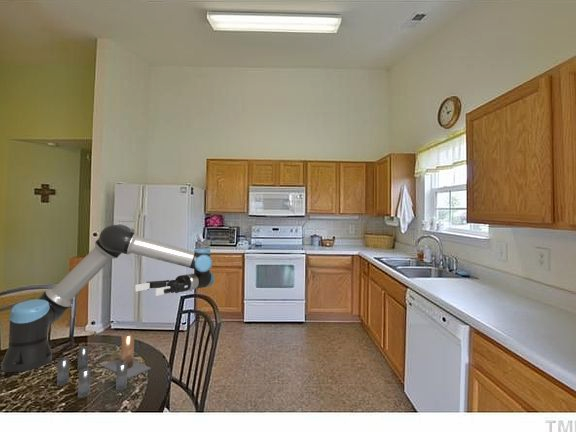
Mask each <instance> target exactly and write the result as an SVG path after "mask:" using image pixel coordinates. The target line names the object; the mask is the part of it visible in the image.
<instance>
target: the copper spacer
mask: <svg viewBox="0 0 576 432" xmlns="http://www.w3.org/2000/svg"><path fill="white" fill-rule="evenodd" d="M134 349H135V333H134V332H127V333H123V334H121V342H120V358H119V359H120V362H127V363H128V365H127V369H129V368H131V367H133V361H134V354H135V353H134V351H135V350H134Z"/></svg>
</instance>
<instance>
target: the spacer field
mask: <svg viewBox="0 0 576 432" xmlns="http://www.w3.org/2000/svg"><path fill="white" fill-rule="evenodd" d="M89 348H90V347H89V345H83V346H79V347H78V349H77V350H78V351H77V371H78V382H77V383H78V385H77V398H79V399H84V398H87V397H89V396H90V395H91V377H92V376H91V375H92V369H91V367H89V365H88V364H89ZM127 365H128V363H127V362H120V363H118V364H117V372H116V373H115V374H116V376H115V377H116V378H115V390H116V391H124V390H126V389H127V385H128V383H127V382H128V378H127ZM56 371H57V375H56V386H64V385H67V384H68V383H69V376H70V375H69V374H70V373H69V372H70V357H63V358H62V357H61V358H59V359H57V370H56Z"/></svg>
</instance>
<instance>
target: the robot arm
mask: <svg viewBox="0 0 576 432" xmlns="http://www.w3.org/2000/svg"><path fill="white" fill-rule="evenodd" d="M121 254H125V255H130V254H134V255H137V256H138V255H139V256H142V257H147V258H149V259H154V260H158V261H162V262H166V263H169V264H173V265H178V266H181V267H186V268H189V269H192V270H193V272H194V273H188V274H181V275H178V276H177V277H175V279H171V280H170V279H166V280H155V281H154V280H153V281H146V282H144V283H140V284H139V283H138V284H135V285H134V292H140V291H145V290H146V291H149V290H150V289H155V293H154V294H155V297H158V296H162V295H167V294H173V293H175V294H178V293H183V292H184V293H185V292H188V291H189V292H192V290H196V289H202V288H206V287H210V286H212V285H213V284H214V282H215V276H214V273H213V272H212V271H211V269H212V266H213V260H212V258H211V249H210V248H206V247H205V248H203V247H201V248H200V247H199V248H198V247H197V248H195V250H194V251H193V250H189V249H186V248H181V247H178V246H176V245H175V246H174V245H171V244H168V243H164V242H160V241H158V240H157V241H156V240H152V239H150V238H145V237H143V236H138V234H137V232H133V230H132V229H131V228H130V227H128V226H127V225H125V224H112V225H108V226H106V227H105V228H103V229H102V230H101V232H100V233H99V237H98V238H97V239H96V241H95V242H94V247H93V248H92V250H90V251H89V253H87V255H85V257H84V258H82V259H81V261H79V263H77V264H76V265H75V266H74V268H72V269H71V270H70V272H68V274H66V276H65V277H63V279H62V280H61V281H59V282H58V283H57V285H55V287H53V288H47V289H46V290H45V291H44V292H43V293H42V294H41V295H40V296H39V297H38V298H37V299H30V300H25V301H21V302H19V303H16V304H15V305H13V306H12V307H11V309H10V314H9V329H8V330H9V331H8V347H7V349H6V351H5V354H4V356H3V358H2V361H1V366H0V370H1V372H3V373H20V372H26V371H30V370H34V369H38V368H41V367H43V366H45V365H48V364H49V363H50V362H52V359H53V352H52V349H51V346H50V344H49V341H48V334H49V333H48V331H49V327H50V326H51V325H53V323H56V321H59V319H61V317H62V316H64V314H65V313H66V311H67V310H68V309H69V308H70V307H71V305H72V299H74V298H75V297H76V295H77V294H78V293H79V292H81V290H82V289H83V288H85V286H86V285H87V284H89V282H90V281H91V280H92V279H93V278H94V277H95V276H96V275H97V274H98V273H99V272H100V271H101V270H102V269H103V268H104V267H105V266H106V265H107V264H108V263H109V262H110V261H111V260H112V259H118V258H119V257H120V256H121Z"/></svg>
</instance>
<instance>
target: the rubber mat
mask: <svg viewBox="0 0 576 432" xmlns="http://www.w3.org/2000/svg"><path fill="white" fill-rule="evenodd" d="M118 363H120V358H119V359H116V360H113V361H111V362H107V363H105V364H102V365H101V368H104V369H106V370H108V371H110V372H112V373H114V374H116V372H117V364H118ZM151 369H152V368H151V367H150V366H147V365H145V364H143V363H140V362H138V361H135V360H133V367H131V368H129V369H127V380H128V379H131V378H133V377H136V376H137V375H138V376H139V375H140V374H143V373H145V372H147V371H150V370H151Z"/></svg>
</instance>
